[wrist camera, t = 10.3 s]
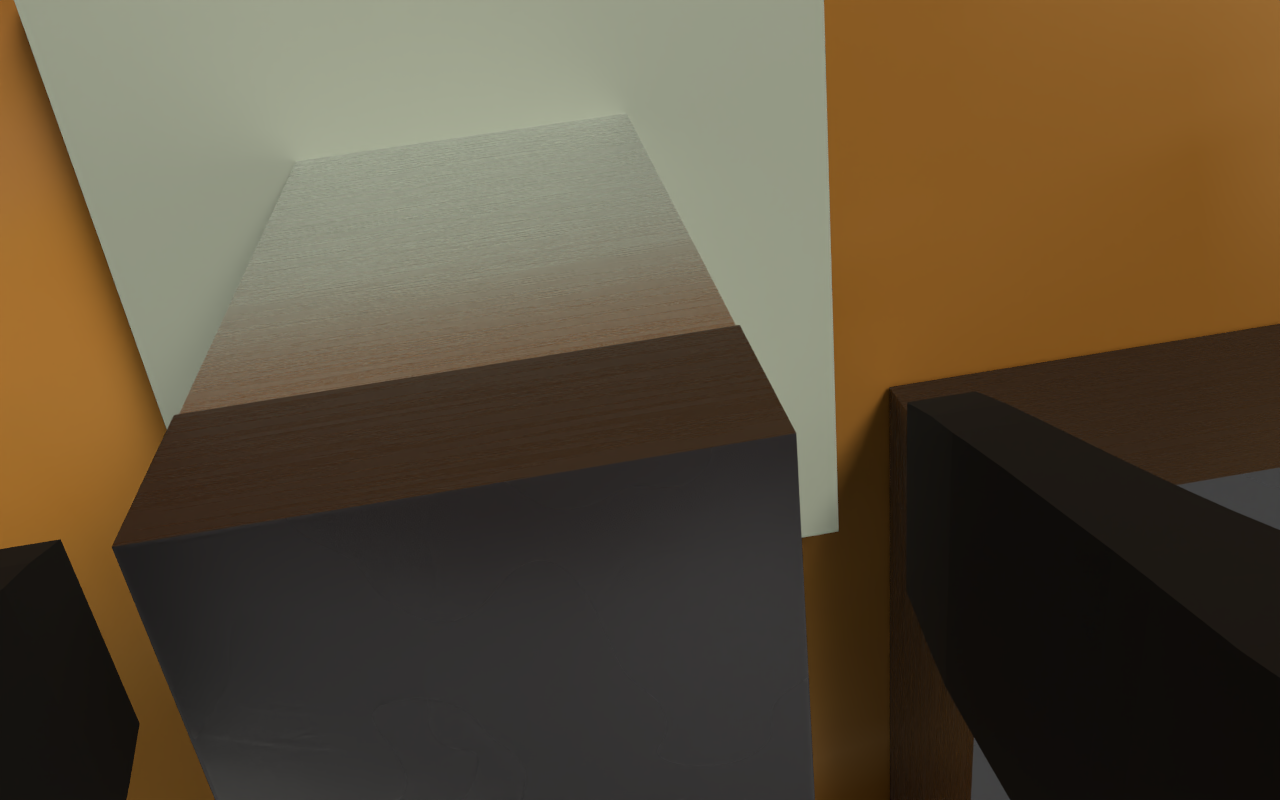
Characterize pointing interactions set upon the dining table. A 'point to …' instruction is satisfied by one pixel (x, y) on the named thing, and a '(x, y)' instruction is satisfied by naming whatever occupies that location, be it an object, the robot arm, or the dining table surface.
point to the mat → (445, 109)
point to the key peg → (480, 496)
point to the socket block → (1120, 425)
